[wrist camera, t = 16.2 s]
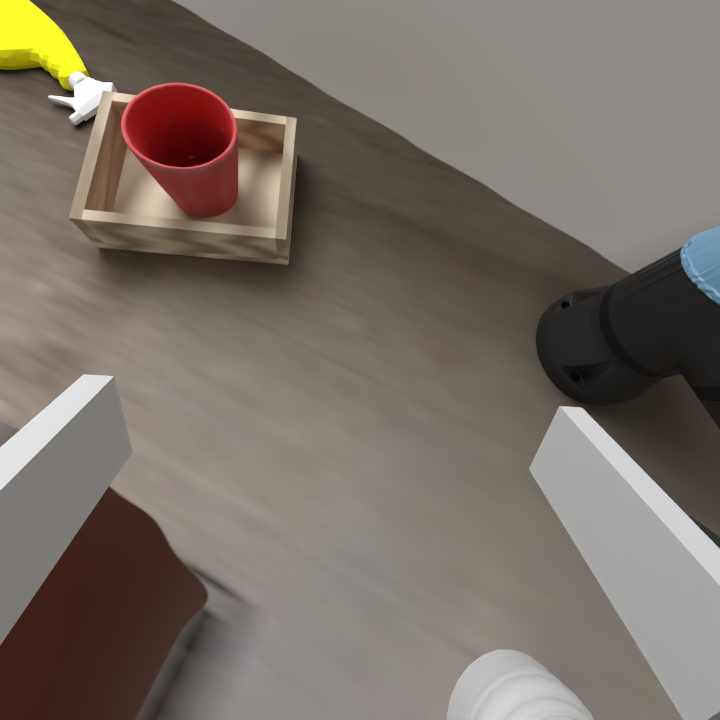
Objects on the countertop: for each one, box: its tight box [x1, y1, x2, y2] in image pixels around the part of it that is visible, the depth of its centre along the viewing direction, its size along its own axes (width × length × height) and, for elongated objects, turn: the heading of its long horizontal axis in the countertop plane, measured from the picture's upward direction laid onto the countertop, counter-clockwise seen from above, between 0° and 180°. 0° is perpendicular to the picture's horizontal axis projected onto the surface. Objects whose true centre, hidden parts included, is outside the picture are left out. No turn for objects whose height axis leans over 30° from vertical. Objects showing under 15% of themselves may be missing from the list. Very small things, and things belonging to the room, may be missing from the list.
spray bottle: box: [0, 0, 117, 125], centre depth 47 cm, size 3×11×24 cm
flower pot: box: [121, 83, 238, 217], centre depth 40 cm, size 11×11×10 cm
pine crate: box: [69, 91, 297, 265], centre depth 43 cm, size 22×17×6 cm
